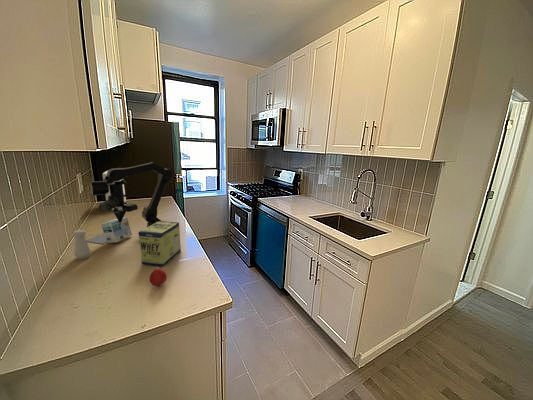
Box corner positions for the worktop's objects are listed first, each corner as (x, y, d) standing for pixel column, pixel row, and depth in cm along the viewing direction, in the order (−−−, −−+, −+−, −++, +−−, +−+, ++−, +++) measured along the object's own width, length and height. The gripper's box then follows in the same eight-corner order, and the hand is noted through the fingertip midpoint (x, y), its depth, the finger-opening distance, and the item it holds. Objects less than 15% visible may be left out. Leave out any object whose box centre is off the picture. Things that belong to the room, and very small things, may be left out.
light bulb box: (116, 242, 116) (110, 222, 114) (106, 243, 117) (100, 223, 115) (132, 234, 126) (127, 216, 124) (123, 235, 128) (117, 217, 125)
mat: (125, 234, 129) (125, 233, 129) (102, 244, 116) (102, 243, 116) (108, 231, 132) (108, 231, 132) (84, 241, 119) (84, 240, 119)
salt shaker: (73, 261, 99) (68, 234, 96) (77, 255, 104) (72, 229, 101) (90, 258, 102) (85, 232, 99) (92, 253, 107) (88, 227, 103)
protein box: (141, 265, 98) (137, 232, 95) (162, 249, 113) (159, 220, 110) (163, 267, 97) (160, 234, 93) (181, 251, 112) (179, 221, 108)
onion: (149, 292, 81) (147, 273, 79) (150, 283, 86) (148, 264, 84) (167, 289, 83) (165, 269, 81) (167, 280, 88) (165, 262, 86)
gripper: (86, 195, 110) (91, 225, 113) (119, 197, 106) (122, 229, 109) (107, 191, 120) (110, 218, 124) (137, 193, 116) (139, 222, 120)
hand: (120, 222), depth 119 cm, fingers closed
